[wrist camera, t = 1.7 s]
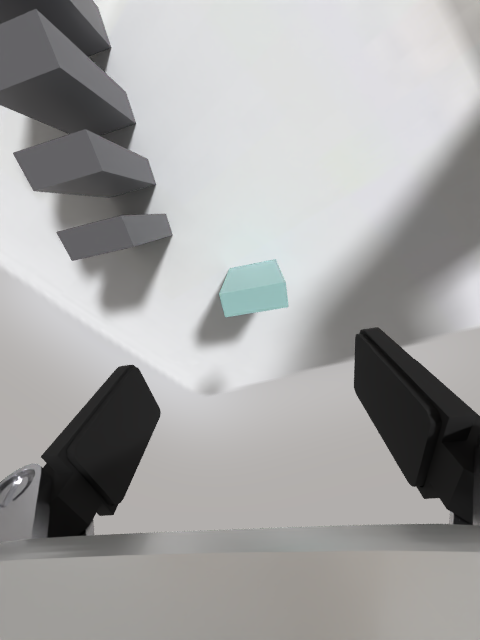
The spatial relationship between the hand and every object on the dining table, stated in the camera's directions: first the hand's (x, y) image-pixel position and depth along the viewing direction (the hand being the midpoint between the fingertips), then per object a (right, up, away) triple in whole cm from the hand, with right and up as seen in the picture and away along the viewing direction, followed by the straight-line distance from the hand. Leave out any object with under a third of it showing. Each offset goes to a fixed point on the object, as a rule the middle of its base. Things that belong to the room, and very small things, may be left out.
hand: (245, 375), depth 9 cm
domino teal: (+1, +8, +14) cm, 16 cm away
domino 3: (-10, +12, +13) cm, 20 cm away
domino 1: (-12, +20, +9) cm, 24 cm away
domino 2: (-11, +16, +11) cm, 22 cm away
